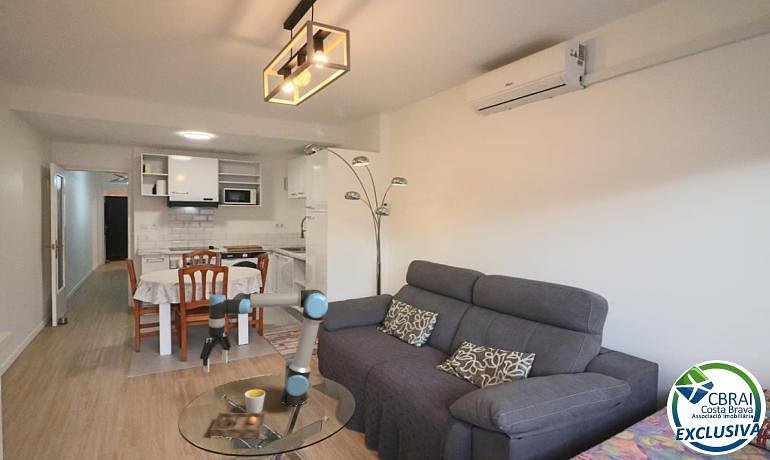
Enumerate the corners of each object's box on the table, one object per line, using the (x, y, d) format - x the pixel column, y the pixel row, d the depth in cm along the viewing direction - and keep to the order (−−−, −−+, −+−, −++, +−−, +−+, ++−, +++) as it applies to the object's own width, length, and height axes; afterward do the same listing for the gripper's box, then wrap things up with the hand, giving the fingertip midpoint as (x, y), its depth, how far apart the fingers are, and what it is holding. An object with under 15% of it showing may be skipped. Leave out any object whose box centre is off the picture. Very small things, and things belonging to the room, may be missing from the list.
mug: (259, 418, 214) (260, 398, 213) (240, 416, 215) (241, 396, 215) (270, 406, 227) (271, 387, 227) (252, 404, 229) (253, 385, 228)
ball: (256, 422, 206) (257, 415, 205) (255, 425, 202) (255, 418, 202) (249, 422, 205) (249, 415, 205) (247, 425, 202) (248, 418, 202)
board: (264, 420, 212) (264, 413, 212) (258, 437, 196) (259, 429, 196) (219, 420, 209) (219, 413, 209) (209, 438, 194) (210, 429, 193)
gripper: (226, 319, 225) (225, 358, 226) (192, 331, 201) (191, 374, 202) (238, 320, 223) (237, 360, 224) (205, 333, 199) (204, 377, 200)
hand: (215, 367), depth 213 cm, fingers open, 13 cm apart
